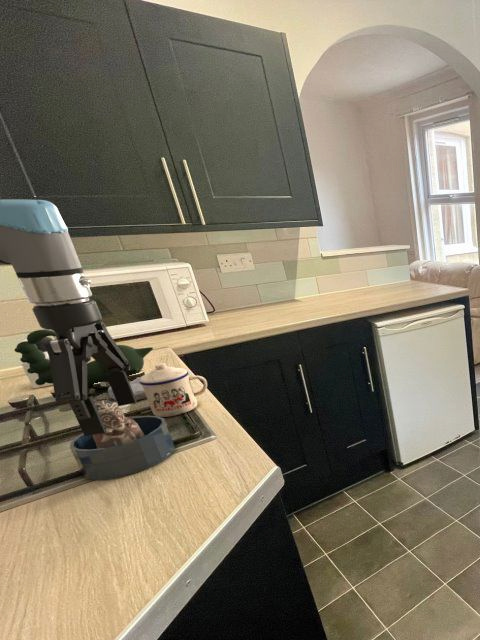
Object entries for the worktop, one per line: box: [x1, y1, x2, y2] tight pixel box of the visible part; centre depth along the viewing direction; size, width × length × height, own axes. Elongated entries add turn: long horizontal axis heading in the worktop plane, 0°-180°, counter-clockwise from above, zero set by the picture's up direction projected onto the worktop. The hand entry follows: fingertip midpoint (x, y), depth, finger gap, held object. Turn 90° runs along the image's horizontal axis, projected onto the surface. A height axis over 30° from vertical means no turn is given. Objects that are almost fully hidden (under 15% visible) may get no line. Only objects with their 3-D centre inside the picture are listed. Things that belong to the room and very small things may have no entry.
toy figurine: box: [14, 329, 154, 394], centre depth 113 cm, size 9×19×25 cm
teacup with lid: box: [140, 362, 208, 418], centre depth 100 cm, size 12×9×12 cm
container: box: [18, 336, 54, 389], centre depth 119 cm, size 8×8×13 cm
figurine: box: [93, 398, 145, 449], centre depth 77 cm, size 7×7×12 cm
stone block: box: [107, 374, 147, 402], centre depth 110 cm, size 12×5×10 cm
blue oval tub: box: [69, 415, 176, 481], centre depth 79 cm, size 13×14×6 cm
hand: (113, 417), depth 77 cm, fingers open, 12 cm apart
